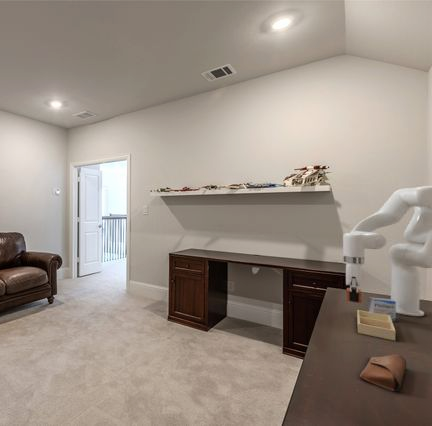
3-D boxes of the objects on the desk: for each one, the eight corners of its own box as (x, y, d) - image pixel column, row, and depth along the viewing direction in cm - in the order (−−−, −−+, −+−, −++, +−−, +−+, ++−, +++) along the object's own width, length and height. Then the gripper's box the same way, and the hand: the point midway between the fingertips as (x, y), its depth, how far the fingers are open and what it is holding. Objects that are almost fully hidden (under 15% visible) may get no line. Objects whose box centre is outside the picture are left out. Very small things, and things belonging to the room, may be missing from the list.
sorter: (357, 318, 130) (357, 309, 130) (389, 324, 123) (390, 315, 123) (357, 332, 114) (358, 323, 114) (395, 340, 107) (395, 330, 107)
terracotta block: (347, 298, 140) (347, 287, 140) (361, 300, 137) (360, 289, 136) (347, 301, 136) (346, 290, 136) (361, 303, 133) (361, 292, 133)
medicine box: (372, 319, 129) (372, 299, 128) (367, 315, 133) (368, 296, 133) (395, 321, 126) (396, 301, 125) (390, 318, 130) (391, 298, 130)
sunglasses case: (368, 356, 95) (383, 341, 92) (394, 375, 90) (411, 361, 88) (358, 377, 83) (375, 361, 80) (387, 400, 78) (406, 385, 76)
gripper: (343, 256, 145) (344, 293, 145) (342, 262, 132) (343, 303, 132) (363, 258, 140) (364, 296, 140) (365, 264, 127) (365, 306, 127)
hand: (354, 299), depth 136 cm, fingers closed on terracotta block, 5 cm apart
